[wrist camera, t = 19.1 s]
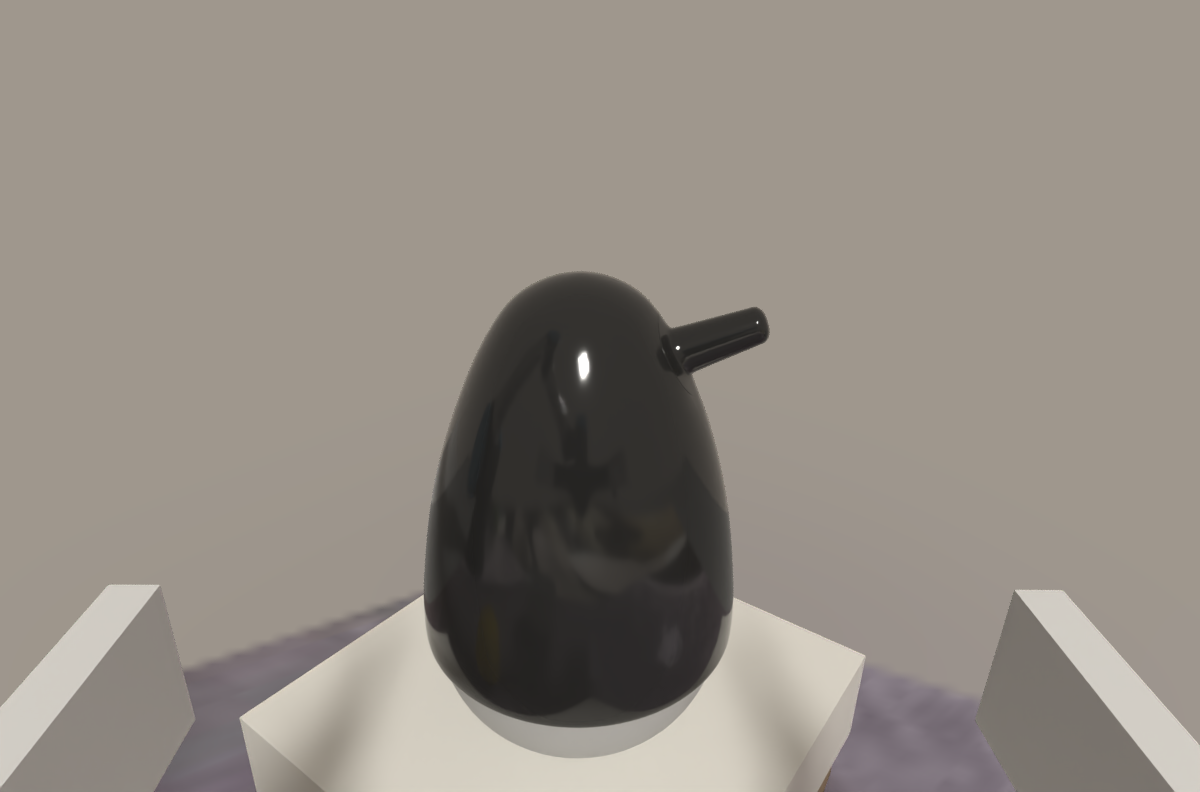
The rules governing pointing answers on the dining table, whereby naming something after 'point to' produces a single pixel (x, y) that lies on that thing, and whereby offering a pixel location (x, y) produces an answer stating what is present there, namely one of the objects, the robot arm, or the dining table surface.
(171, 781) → the dining table surface
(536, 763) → the tower top
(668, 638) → the pump dispenser
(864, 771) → the dining table surface
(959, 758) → the dining table surface
